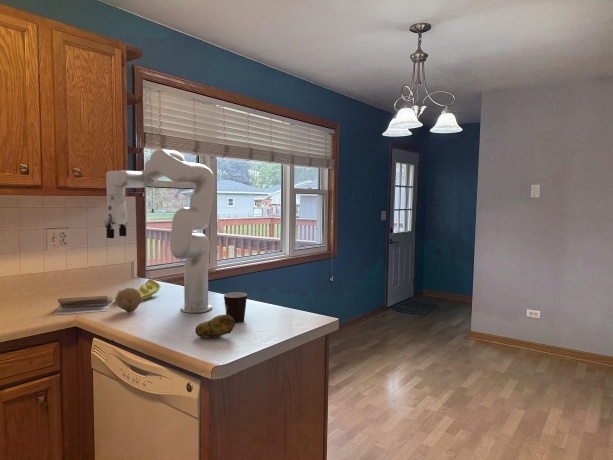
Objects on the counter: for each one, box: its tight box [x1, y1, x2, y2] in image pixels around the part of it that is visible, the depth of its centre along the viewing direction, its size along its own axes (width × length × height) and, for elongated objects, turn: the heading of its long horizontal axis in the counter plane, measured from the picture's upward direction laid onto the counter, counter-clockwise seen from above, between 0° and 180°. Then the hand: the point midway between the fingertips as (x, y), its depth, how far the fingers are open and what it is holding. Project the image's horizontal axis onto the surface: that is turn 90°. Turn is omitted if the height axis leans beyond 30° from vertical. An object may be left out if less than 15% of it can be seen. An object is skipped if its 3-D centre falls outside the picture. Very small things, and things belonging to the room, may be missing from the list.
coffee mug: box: [223, 291, 248, 325], centre depth 160 cm, size 12×9×10 cm
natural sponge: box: [116, 287, 142, 313], centre depth 172 cm, size 9×9×10 cm
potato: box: [194, 314, 236, 338], centre depth 142 cm, size 8×13×8 cm, turn 62°
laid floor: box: [53, 296, 113, 316], centre depth 181 cm, size 21×19×1 cm
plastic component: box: [114, 278, 161, 303], centre depth 196 cm, size 20×7×10 cm
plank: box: [57, 295, 109, 307], centre depth 179 cm, size 8×18×1 cm, turn 109°
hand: (116, 237), depth 193 cm, fingers open, 9 cm apart
